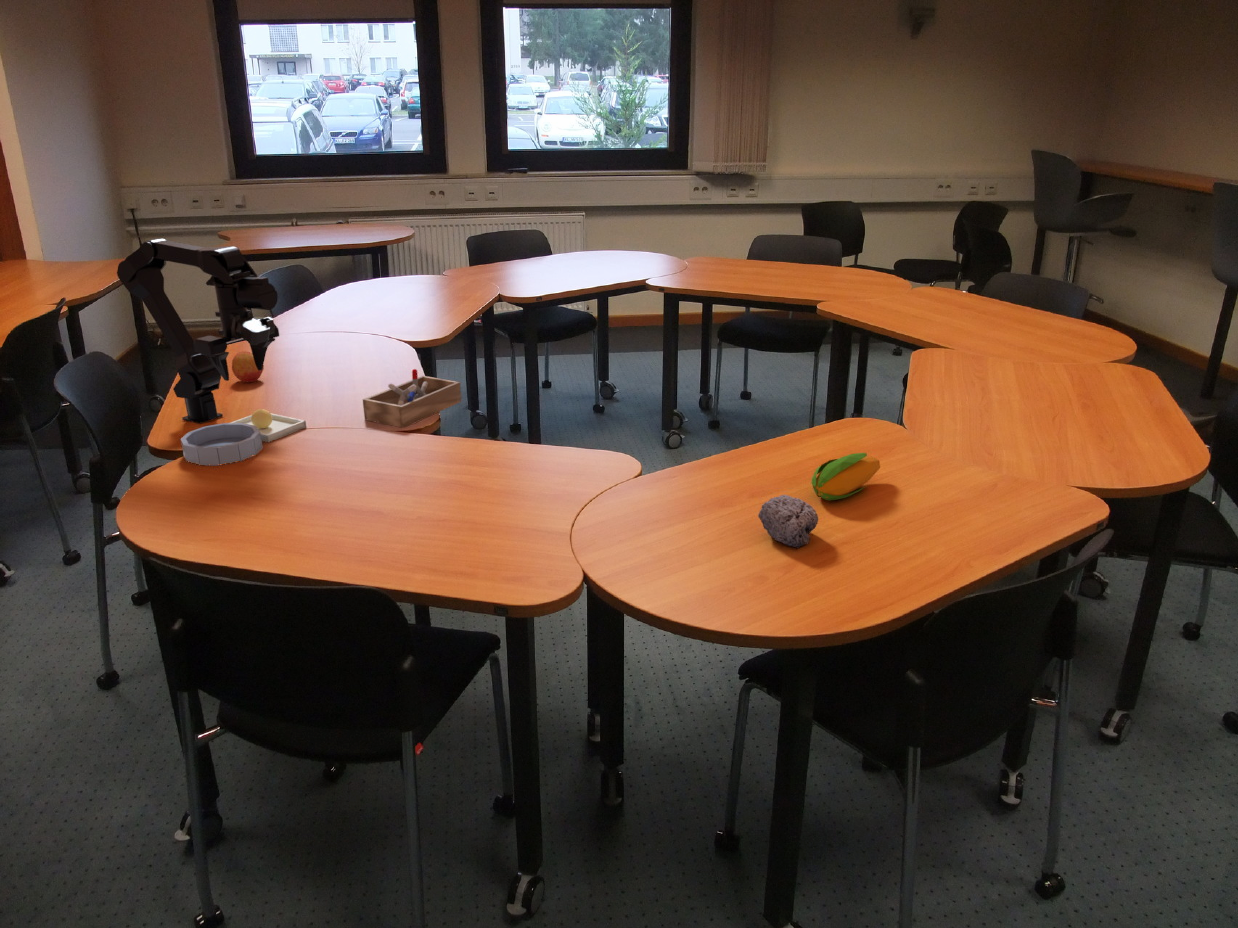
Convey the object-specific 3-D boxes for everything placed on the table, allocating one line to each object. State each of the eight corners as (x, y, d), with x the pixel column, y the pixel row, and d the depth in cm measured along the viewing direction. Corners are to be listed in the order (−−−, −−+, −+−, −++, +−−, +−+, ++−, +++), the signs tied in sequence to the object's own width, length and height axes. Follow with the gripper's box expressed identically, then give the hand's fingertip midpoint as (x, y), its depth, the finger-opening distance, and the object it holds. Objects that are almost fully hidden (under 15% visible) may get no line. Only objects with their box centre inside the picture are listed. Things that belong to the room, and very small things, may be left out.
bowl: (169, 457, 189) (165, 440, 188) (228, 435, 201) (225, 419, 200) (218, 470, 182) (215, 453, 181) (276, 446, 195) (274, 430, 193)
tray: (224, 431, 203) (223, 425, 203) (262, 417, 212) (261, 411, 212) (268, 442, 197) (267, 435, 196) (306, 427, 206) (305, 420, 205)
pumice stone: (821, 561, 152) (810, 521, 160) (829, 527, 148) (817, 488, 155) (760, 560, 152) (752, 520, 160) (766, 526, 147) (758, 487, 155)
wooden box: (364, 419, 211) (362, 399, 209) (424, 394, 228) (422, 375, 227) (403, 427, 206) (401, 407, 204) (461, 401, 223) (459, 382, 222)
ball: (251, 430, 204) (244, 414, 201) (265, 419, 207) (258, 404, 204) (265, 433, 202) (258, 417, 199) (279, 422, 205) (272, 407, 202)
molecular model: (415, 424, 208) (421, 383, 205) (380, 415, 208) (386, 374, 205) (438, 407, 225) (444, 368, 222) (405, 399, 225) (411, 360, 222)
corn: (803, 462, 167) (863, 436, 180) (797, 498, 170) (857, 470, 183) (836, 476, 162) (896, 448, 175) (830, 513, 165) (889, 483, 178)
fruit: (268, 376, 243) (264, 347, 240) (261, 385, 236) (257, 355, 233) (238, 377, 242) (233, 348, 239) (230, 386, 235) (225, 356, 232)
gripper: (222, 319, 186) (234, 391, 191) (291, 302, 201) (301, 369, 207) (186, 313, 190) (199, 384, 196) (256, 297, 206) (266, 363, 212)
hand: (243, 375), depth 203 cm, fingers open, 9 cm apart
